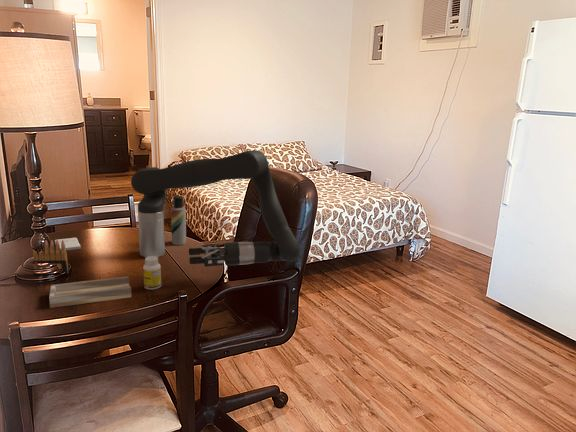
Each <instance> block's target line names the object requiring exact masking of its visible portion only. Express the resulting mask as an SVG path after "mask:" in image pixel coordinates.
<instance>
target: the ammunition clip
mask: <svg viewBox="0 0 576 432" xmlns="http://www.w3.org/2000/svg"><path fill="white" fill-rule="evenodd" d="M55 240H56V244H55V243H54V242H53V241H54V240H53V239H51V240H50V242H48V240H47V239H45V241H44V246H43V248H44V251H42V249H41V251H40V252H39V251H38V253H39V254H38V253H37V251H35V250H34V249H33V248H32V258H33V261H32V264H33V263H35V262H46V263H50V264H52V265H57V267H58V268H59V269H63V271H64V272H65V273H66V274H67V275H69V274H70V268H69V267H70V266H69V261H68V254H67V253H68V251H67V250H66V248H65V243H64V241H63V240H62V243H61V251H60V245H59V242H58V239H55ZM40 242H42V239H40V240H39V241H38V244H39V243H40ZM40 244H41V243H40ZM38 260H39V261H38ZM44 260H45V261H44Z"/></svg>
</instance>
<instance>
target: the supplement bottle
mask: <svg viewBox="0 0 576 432" xmlns="http://www.w3.org/2000/svg"><path fill="white" fill-rule="evenodd" d="M144 258H145V259H144V264H143V266H142V271H143V272H142V273H143V276H142V277H143V287H144V289H146V290H157V289H159V288H161V286H162V270H161V269H162V266H161V264H160V263H159V257H156V256H148V257H144Z"/></svg>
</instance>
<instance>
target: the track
mask: <svg viewBox="0 0 576 432" xmlns="http://www.w3.org/2000/svg"><path fill="white" fill-rule="evenodd" d="M129 298H132V286H130V280H129V276H128V275H127V276H119V277H118V276H117V277H112V278H111V277H110V278H108V277H107V278H102V279H101V278H99V279H92V280H83V281H74V282H73V281H72V282H65V283H56V284H51V286H50V290H49V297H48V299H49V308H50V309H54V308H60V307H67V306H75V305H82V304H91V303H97V302H98V303H99V302H106V301H115V300H121V299H129Z"/></svg>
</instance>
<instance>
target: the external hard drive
mask: <svg viewBox="0 0 576 432" xmlns="http://www.w3.org/2000/svg"><path fill="white" fill-rule="evenodd" d="M56 240H58V242H59V245H60V251H61V243H62V240H63V241H64V243H65V248H66V251H73V250H80V249H82V246H81V244H80V243H79V240H78V238H77V237H70V238H59V239H55V240H54V245H56Z"/></svg>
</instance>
